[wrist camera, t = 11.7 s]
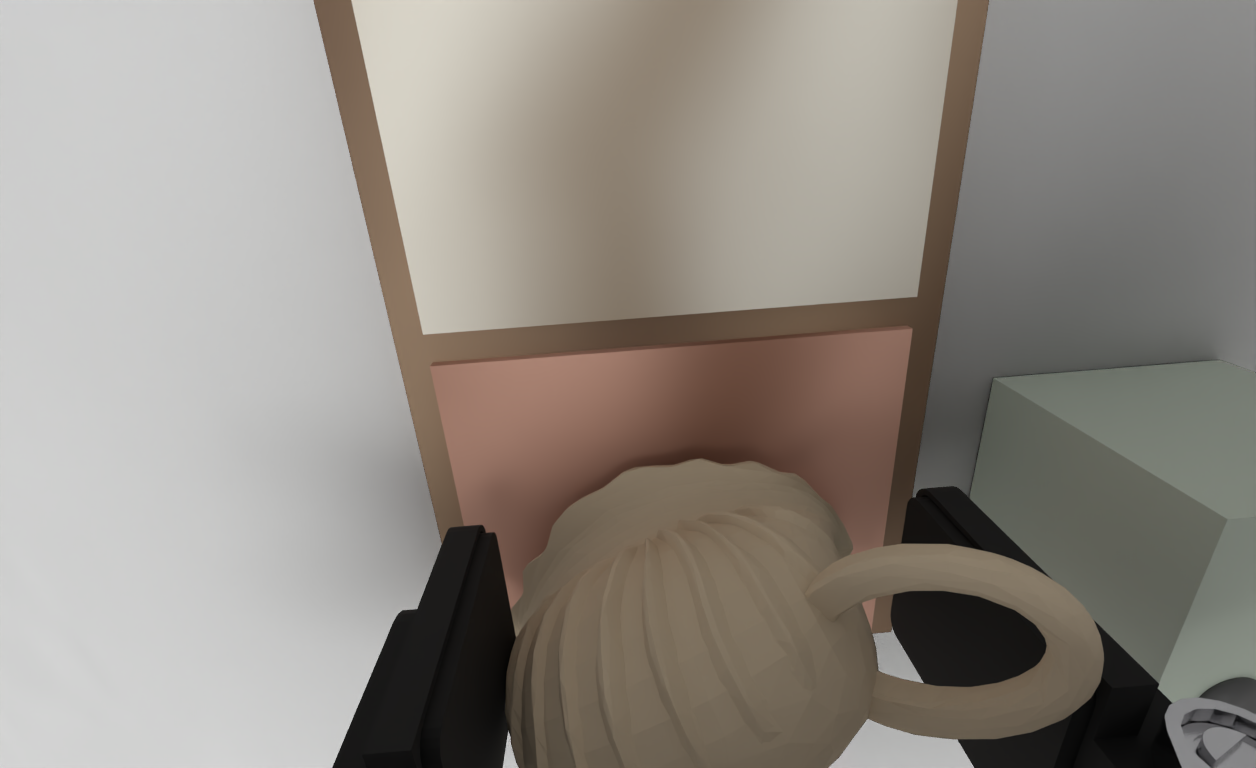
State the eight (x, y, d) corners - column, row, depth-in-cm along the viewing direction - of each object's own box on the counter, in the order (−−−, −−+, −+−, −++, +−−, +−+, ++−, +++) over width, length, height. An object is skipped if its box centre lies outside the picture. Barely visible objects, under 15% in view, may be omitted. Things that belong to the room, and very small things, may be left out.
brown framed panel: (986, -244, 8) (1045, -302, 7) (872, 600, 15) (895, 638, 14) (292, -205, 8) (245, -259, 7) (479, 635, 14) (470, 677, 13)
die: (1219, 360, 13) (1592, 492, 8) (1152, 545, 14) (1417, 739, 10) (993, 378, 12) (1234, 522, 8) (956, 563, 14) (1129, 767, 10)
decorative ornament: (460, 550, 11) (354, 862, 7) (858, 359, 10) (1100, 567, 5) (565, 676, 13) (542, 1009, 8) (923, 523, 12) (1158, 806, 7)
